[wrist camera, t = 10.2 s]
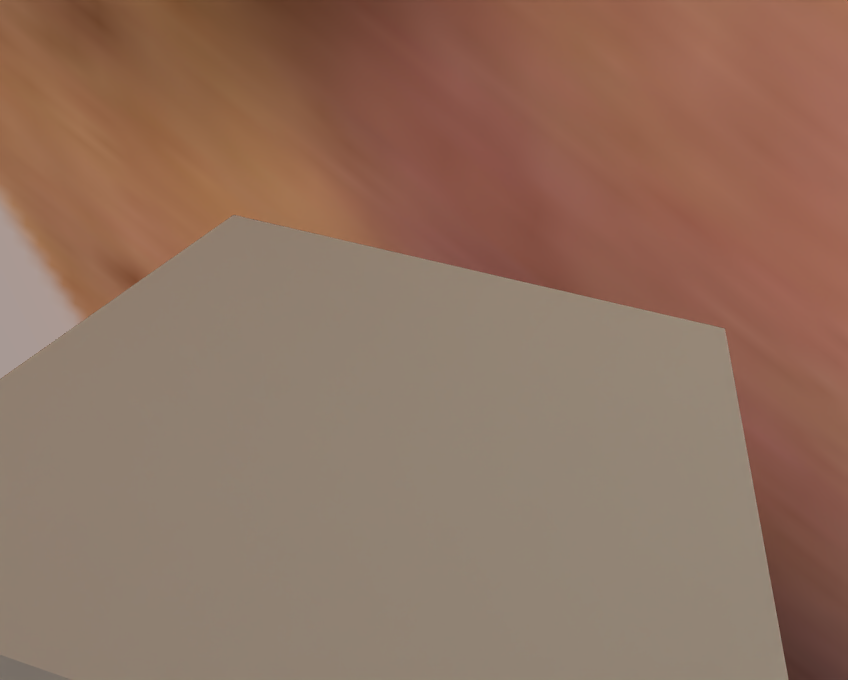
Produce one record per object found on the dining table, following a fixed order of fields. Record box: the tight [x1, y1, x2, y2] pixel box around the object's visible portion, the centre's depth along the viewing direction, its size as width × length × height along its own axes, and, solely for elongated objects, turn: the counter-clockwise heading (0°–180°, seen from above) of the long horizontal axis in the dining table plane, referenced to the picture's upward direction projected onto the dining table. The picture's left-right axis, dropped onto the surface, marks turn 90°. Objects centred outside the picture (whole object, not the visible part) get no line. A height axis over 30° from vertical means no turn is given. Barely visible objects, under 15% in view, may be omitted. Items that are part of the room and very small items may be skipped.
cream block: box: [0, 215, 789, 680], centre depth 7 cm, size 5×5×5 cm
